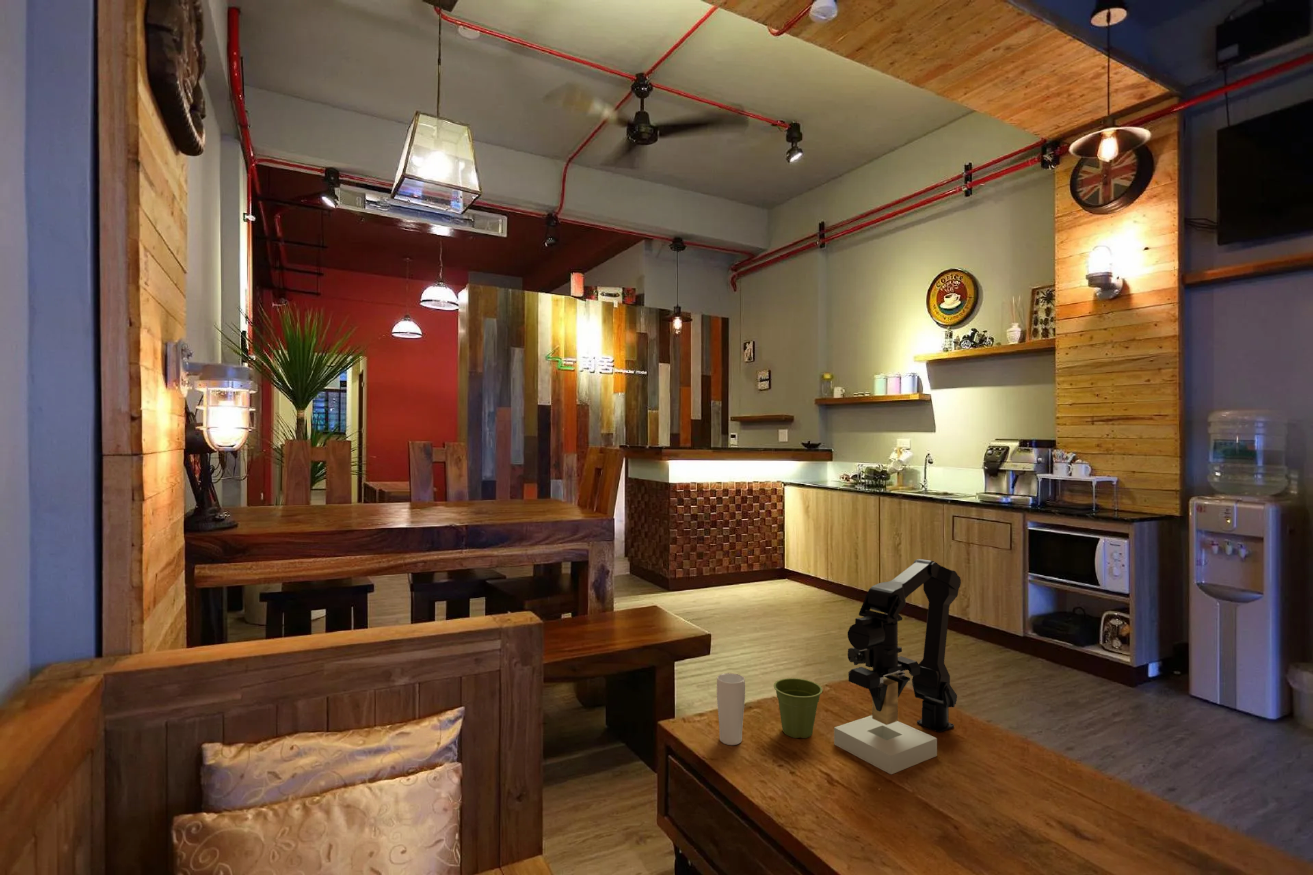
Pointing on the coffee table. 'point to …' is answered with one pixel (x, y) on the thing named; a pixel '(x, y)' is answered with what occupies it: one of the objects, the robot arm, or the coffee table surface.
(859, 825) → the coffee table surface
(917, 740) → the socket block
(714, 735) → the coffee table surface
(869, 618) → the robot arm
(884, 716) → the peg
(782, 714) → the plant pot
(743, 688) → the drinking glass
